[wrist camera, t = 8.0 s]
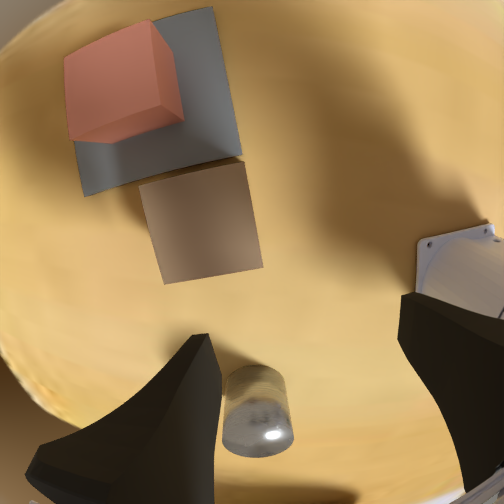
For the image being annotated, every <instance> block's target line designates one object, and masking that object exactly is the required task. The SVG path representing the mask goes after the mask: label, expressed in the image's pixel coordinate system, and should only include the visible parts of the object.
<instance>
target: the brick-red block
mask: <svg viewBox="0 0 504 504" xmlns="http://www.w3.org/2000/svg"><path fill="white" fill-rule="evenodd" d="M64 85H65V102H66V114H67V123H68V132H69V139H70V140H72V141H86V142H97V143H108V144H114V143H116V142H119V141H122V140H125V139H128V138H130V137H133V136H136V135H139V134H142V133H146V132H149V131H152V130H155V129H159V128H162V127H165V126H169V125H172V124H176V123H180V122H183V121H185V120H184V114H183V109H182V103H181V97H180V92H179V86H178V80H177V74H176V68H175V62H174V55H173V52H172V50H171V49H170V47H169V46H168V44H167V43H166V42H165V40H164V39H163V37H162V36H161V34H160V33H159V32H158V30H157V29H156V27H155V26H154V25H153V23H152V22H151V20H150V19H147V20H145V21H142V22H139V23H136V24H134V25H131V26H128V27H126V28H123V29H121V30H119V31H116V32H114V33H112V34H109V35H107V36H105V37H103V38H100V39H98V40H96V41H94V42H92V43H90V44H88V45H86V46H84V47H82V48H80V49H78V50H77V51H75V52H73V53H71V54H69V55H68V56H66V57H64Z"/></svg>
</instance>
